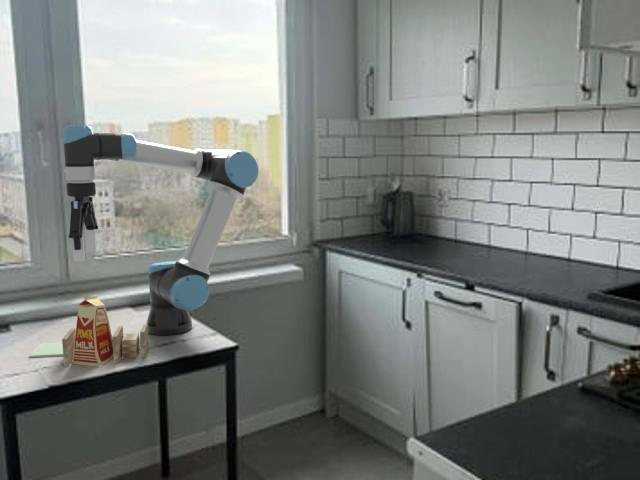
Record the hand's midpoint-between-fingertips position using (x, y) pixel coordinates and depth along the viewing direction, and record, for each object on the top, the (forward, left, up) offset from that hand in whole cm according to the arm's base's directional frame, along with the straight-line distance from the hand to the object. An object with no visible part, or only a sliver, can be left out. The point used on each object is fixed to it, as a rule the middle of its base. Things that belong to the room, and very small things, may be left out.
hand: (85, 256), depth 171 cm
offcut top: (-11, -2, -27) cm, 29 cm away
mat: (+13, -10, -31) cm, 35 cm away
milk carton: (-1, 0, -31) cm, 31 cm away
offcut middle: (-11, -2, -29) cm, 31 cm away
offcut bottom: (-11, -2, -31) cm, 33 cm away
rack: (-4, -1, -31) cm, 31 cm away
